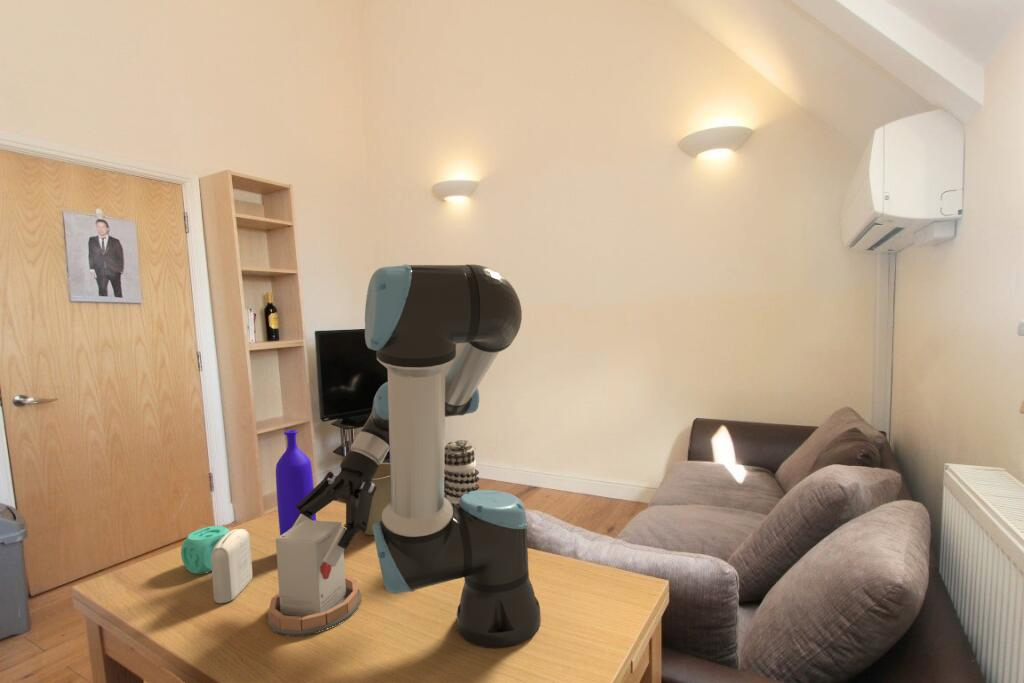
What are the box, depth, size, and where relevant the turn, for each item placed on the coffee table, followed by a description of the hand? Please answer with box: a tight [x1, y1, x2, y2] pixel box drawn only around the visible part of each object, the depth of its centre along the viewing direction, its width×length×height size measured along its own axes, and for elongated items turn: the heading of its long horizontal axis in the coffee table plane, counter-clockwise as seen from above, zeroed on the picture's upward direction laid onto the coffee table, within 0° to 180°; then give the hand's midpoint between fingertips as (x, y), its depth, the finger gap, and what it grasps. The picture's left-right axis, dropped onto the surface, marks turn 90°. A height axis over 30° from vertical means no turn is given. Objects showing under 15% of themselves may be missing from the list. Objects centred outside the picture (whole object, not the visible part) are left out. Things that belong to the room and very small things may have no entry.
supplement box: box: [275, 520, 346, 616], centre depth 99 cm, size 9×9×15 cm
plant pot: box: [361, 462, 391, 536], centre depth 135 cm, size 15×15×16 cm
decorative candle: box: [444, 440, 480, 507], centre depth 124 cm, size 9×9×25 cm
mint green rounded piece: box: [180, 525, 231, 575], centre depth 119 cm, size 8×8×8 cm
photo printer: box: [211, 528, 254, 604], centre depth 107 cm, size 10×4×12 cm, turn 3°
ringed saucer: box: [267, 573, 362, 637], centre depth 99 cm, size 17×17×3 cm
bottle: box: [275, 429, 317, 536], centre depth 123 cm, size 8×8×30 cm
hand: (306, 555), depth 98 cm, fingers open, 13 cm apart
